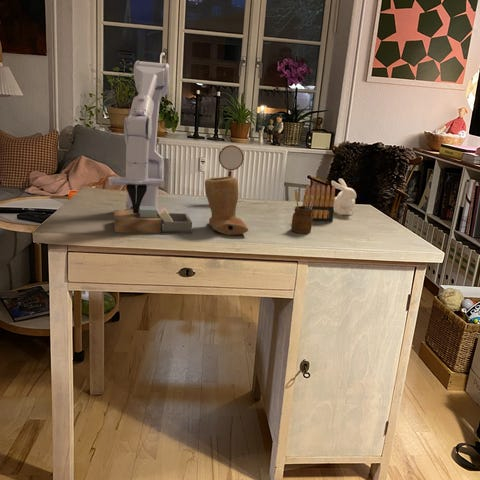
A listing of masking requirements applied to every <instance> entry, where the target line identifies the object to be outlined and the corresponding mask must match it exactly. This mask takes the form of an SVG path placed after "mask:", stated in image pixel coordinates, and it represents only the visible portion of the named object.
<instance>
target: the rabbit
mask: <svg viewBox="0 0 480 480" xmlns="http://www.w3.org/2000/svg"><path fill="white" fill-rule="evenodd" d="M338 182H339V183H338ZM338 182H336V181H334V180H331V182H330V183H331V186H332V187H333V185H334V186H335V189H337V190H340V192H338V194H337V196H334V197H335V200H334V213H335V214H338V215H341V216H345V215H346V216H352V214H353V213H354V211H353V209H354V208H355V204H356V199H357V193H356V191H355V189H353V188H352V187H348V185H347V184H346V182H345V180H344V179H343V178H338Z"/></svg>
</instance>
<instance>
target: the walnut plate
mask: <svg viewBox="0 0 480 480" xmlns="http://www.w3.org/2000/svg"><path fill="white" fill-rule="evenodd" d="M113 212H114V213H113V217H114V218H113V224H114V225H113V227H114V233H138V234H139V233H140V234H141V233H142V234H143V233H145V234H146V233H149V234H150V233H152V234H161V233H162V232H161V218H160V215H159V213H158V211H157V217H140V215H139V213H133V210H127V209H126V210H125V209H114V211H113Z"/></svg>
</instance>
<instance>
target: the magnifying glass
mask: <svg viewBox="0 0 480 480" xmlns="http://www.w3.org/2000/svg"><path fill="white" fill-rule="evenodd" d="M244 158H245V157H244V153H243V151H242V149H241V148H240V147H239V146H236V145H233V144H231V145H229V144H228V145H226V146H223V148H222V149H221V150H220V151H219V154H218V161H219V164H220V165H221V167H222V168H223V169H225V170H228V172H227V177H232V173H233V172H232V171H235V170H238V168H240V167H241V166H242V164H243V162H244Z"/></svg>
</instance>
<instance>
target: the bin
mask: <svg viewBox="0 0 480 480" xmlns="http://www.w3.org/2000/svg"><path fill="white" fill-rule="evenodd" d="M168 214H169V215H170V217H171V218H172V220H173V222H166V221H163V219H162V218H161V216H160V218H161V233H162V234H192V230H193V221H192V220H191V218H190V217H189V215H188V213H187V212H181V213H180V212H179V213H178V212H168Z"/></svg>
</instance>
